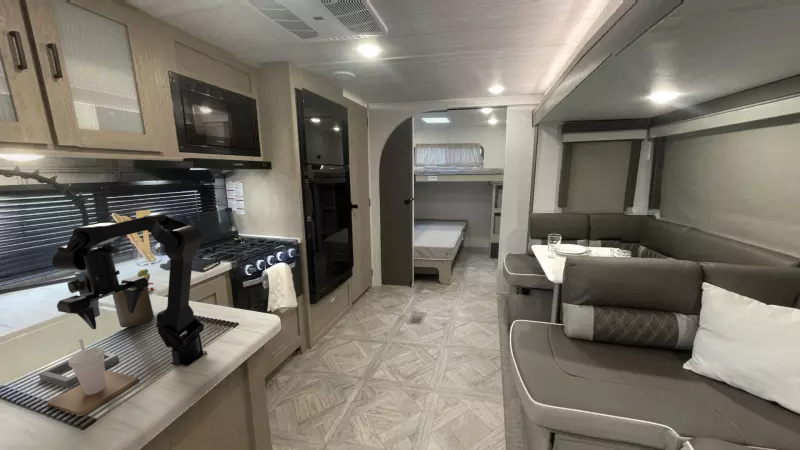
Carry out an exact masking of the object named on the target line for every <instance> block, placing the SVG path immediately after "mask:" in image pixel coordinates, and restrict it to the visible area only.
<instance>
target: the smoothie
mask: <svg viewBox="0 0 800 450" xmlns="http://www.w3.org/2000/svg"><path fill="white" fill-rule="evenodd" d="M78 341H79V345H80V348H81V349H80V350H81V351H79V352H77V353H76V354H74V355H73V356H71V357H69V359H67V360H68V365H69V366H70V367H71V368H72V370H73V373H74V375H76V377H77V379H78V381H79V385H81V387H82V389H83V391H84V392H85V394H86V395H92V394H95V393H97V392H99V391H101V390H103V389H104V388H105V386H106V383H105V371H106V368H105V365H104V355H105V352H106V351H105V350H106V349H104V348H103V347H92V348H88V349H85V344H84V341H83V339H80V340H78Z"/></svg>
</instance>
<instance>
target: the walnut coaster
mask: <svg viewBox="0 0 800 450" xmlns="http://www.w3.org/2000/svg"><path fill="white" fill-rule="evenodd" d="M138 382H140V378H139V377H138V376H133V375H128V374H124V373H120V372H117V371H111V370H108V369H107V370H106V369H105V383H106V386H105V388H104V389H103V390H101V391H99V392H97V393H95V394H92V395H86V394H85V392H84V391H83V389H82V387H81V385H80V384H78V385H77V386H75V387H74V388H71V389H70V390H68V391H66V392H64V393H62V394H61V395H59V396H57V397H55V398H53V399H51V400H50V401H48V402H47V407H48V406H51V407H55V408H58V409H61V410H64V411H67V412H70V413H73V414H76V415H79V416H83V415H84V414H86V413H88V412H89V411H91V410H92V411H94V410H95V408H96V407H97V408H99V407H100V406H102V405H104V404H105V403H106V401H107V402H108V401H110V400H111V399H113V398H115V397H116V396H118V395H119V394H121V393H122V392H124V391H126V390H127V389H129V388H131V387H132V386H134V385H135V384H137V383H138ZM133 384H134V385H133ZM130 386H131V387H130ZM109 399H110V400H109ZM101 404H102V405H101ZM98 406H99V407H98ZM51 407H50V408H51ZM97 408H96V409H97ZM58 409H57V410H58ZM93 409H94V410H93ZM61 410H60V411H61ZM64 411H63V412H64ZM92 411H91V412H92ZM67 412H66V413H67ZM70 413H69V414H70ZM89 413H90V412H89ZM89 413H88V414H89ZM73 414H72V415H73ZM76 415H75V416H76ZM86 415H87V414H86ZM79 416H78V417H79ZM84 416H85V415H84ZM84 416H83V417H84Z"/></svg>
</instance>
